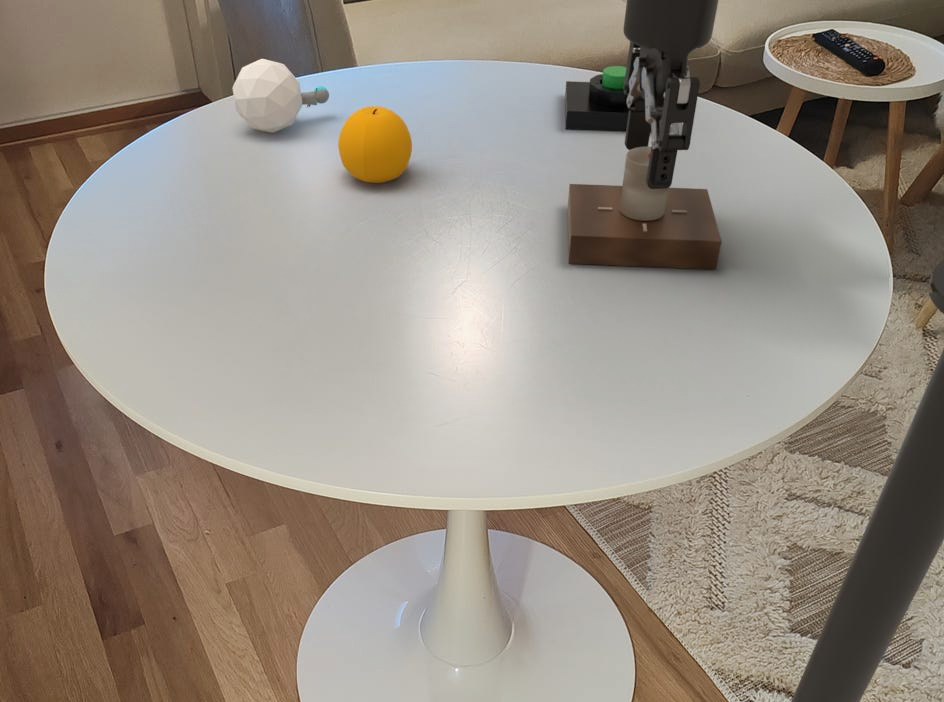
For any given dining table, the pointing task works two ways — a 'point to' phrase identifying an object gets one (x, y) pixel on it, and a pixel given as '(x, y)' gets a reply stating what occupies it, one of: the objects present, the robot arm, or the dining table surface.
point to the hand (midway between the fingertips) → (646, 167)
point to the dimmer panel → (641, 230)
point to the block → (595, 106)
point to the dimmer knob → (640, 189)
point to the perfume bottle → (271, 95)
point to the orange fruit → (375, 145)
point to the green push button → (614, 77)
